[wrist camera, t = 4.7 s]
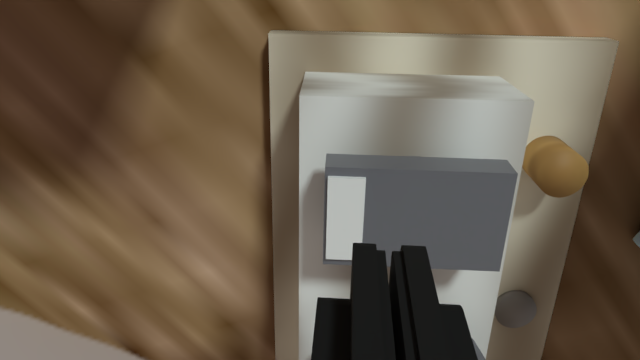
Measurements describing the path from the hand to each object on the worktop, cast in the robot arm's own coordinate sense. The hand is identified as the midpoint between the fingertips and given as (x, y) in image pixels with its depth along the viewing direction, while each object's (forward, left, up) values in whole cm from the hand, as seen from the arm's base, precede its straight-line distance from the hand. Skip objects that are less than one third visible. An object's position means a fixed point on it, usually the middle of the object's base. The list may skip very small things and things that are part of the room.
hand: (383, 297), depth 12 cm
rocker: (-2, +1, -7) cm, 7 cm away
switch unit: (-3, +9, -12) cm, 15 cm away
